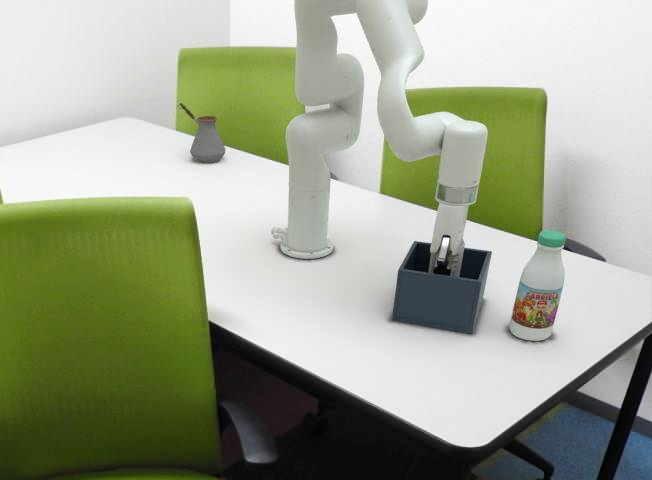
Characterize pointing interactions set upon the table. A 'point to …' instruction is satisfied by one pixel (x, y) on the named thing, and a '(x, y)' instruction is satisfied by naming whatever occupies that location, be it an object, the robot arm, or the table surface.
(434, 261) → the energy drink can
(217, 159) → the coffee pot
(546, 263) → the milk bottle
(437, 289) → the open storage box
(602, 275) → the table surface
